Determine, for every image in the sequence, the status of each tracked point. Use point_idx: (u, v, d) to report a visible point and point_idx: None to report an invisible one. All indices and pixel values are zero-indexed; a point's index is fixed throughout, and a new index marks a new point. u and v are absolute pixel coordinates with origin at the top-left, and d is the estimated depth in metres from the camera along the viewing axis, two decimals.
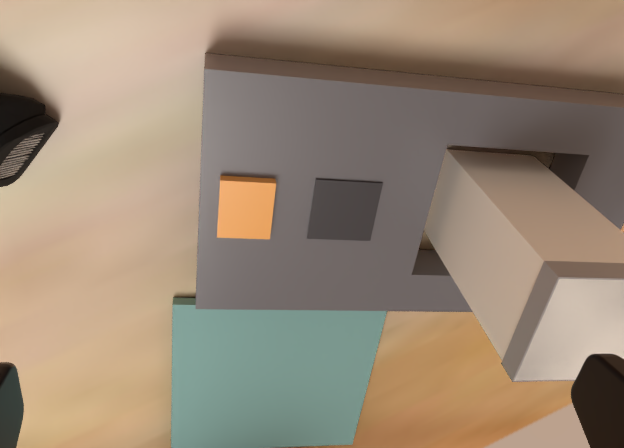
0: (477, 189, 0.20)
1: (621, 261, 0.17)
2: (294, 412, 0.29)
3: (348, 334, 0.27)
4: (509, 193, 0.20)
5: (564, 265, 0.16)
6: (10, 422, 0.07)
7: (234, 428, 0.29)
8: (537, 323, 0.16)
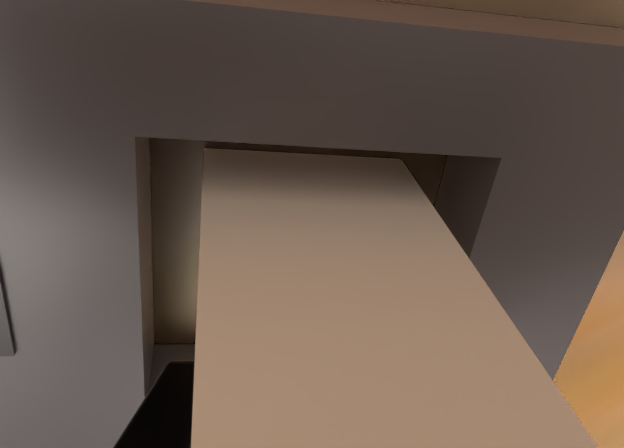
0: (199, 249, 0.08)
1: None
2: None
3: None
4: (274, 263, 0.08)
5: None
6: None
7: None
8: None
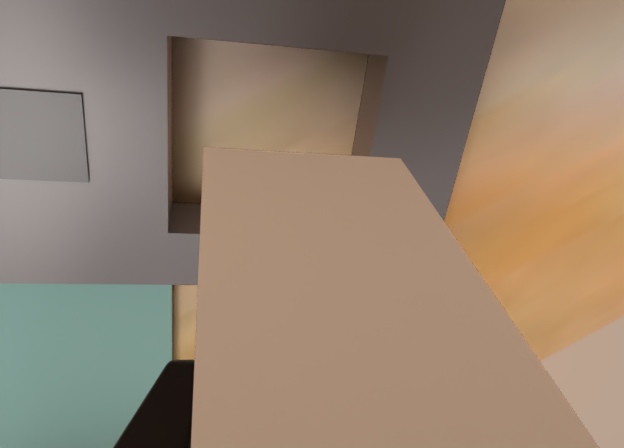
0: (199, 248, 0.08)
1: None
2: (80, 421, 0.23)
3: (125, 319, 0.21)
4: (274, 261, 0.08)
5: None
6: None
7: (3, 442, 0.23)
8: None
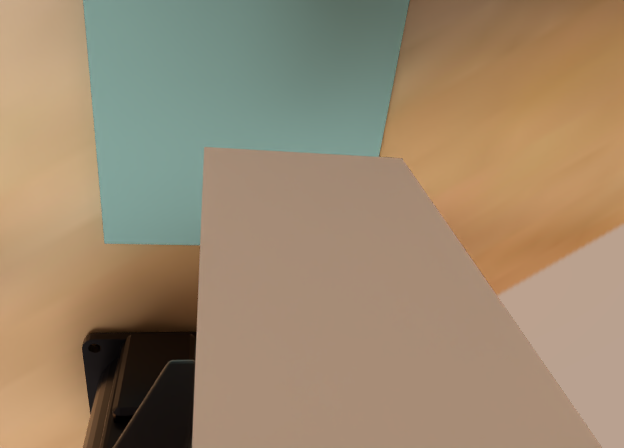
0: None
1: None
2: None
3: (352, 39, 0.18)
4: (275, 262, 0.08)
5: None
6: None
7: (192, 207, 0.21)
8: None
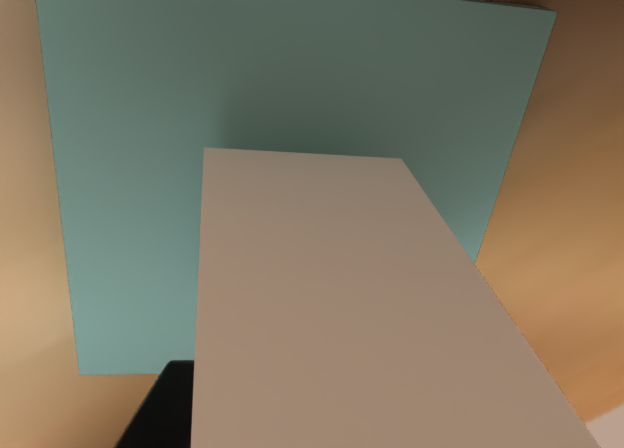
0: (199, 249, 0.08)
1: None
2: None
3: (459, 90, 0.12)
4: (274, 263, 0.08)
5: None
6: None
7: None
8: None
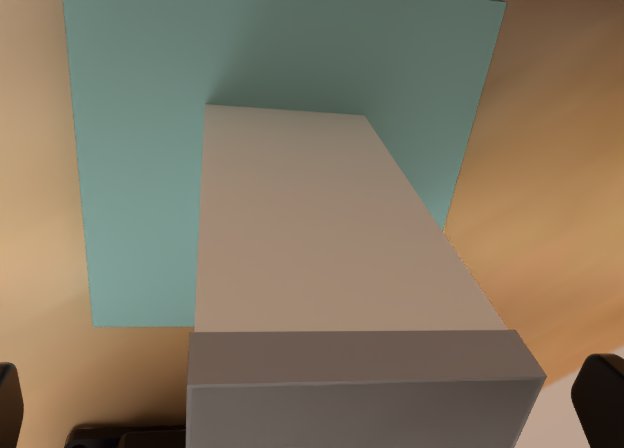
0: None
1: (409, 325, 0.07)
2: None
3: (424, 70, 0.14)
4: (257, 175, 0.10)
5: (234, 345, 0.06)
6: (10, 422, 0.07)
7: None
8: None
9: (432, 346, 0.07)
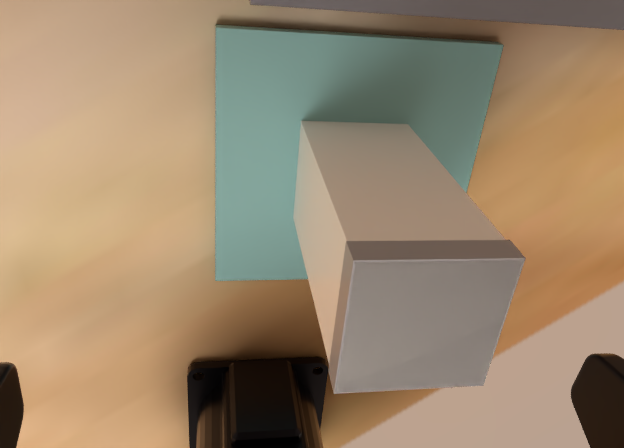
0: (315, 162, 0.17)
1: (453, 238, 0.13)
2: None
3: (448, 92, 0.20)
4: (351, 165, 0.17)
5: (369, 246, 0.13)
6: (10, 422, 0.07)
7: (296, 245, 0.22)
8: (345, 321, 0.13)
9: (466, 247, 0.13)
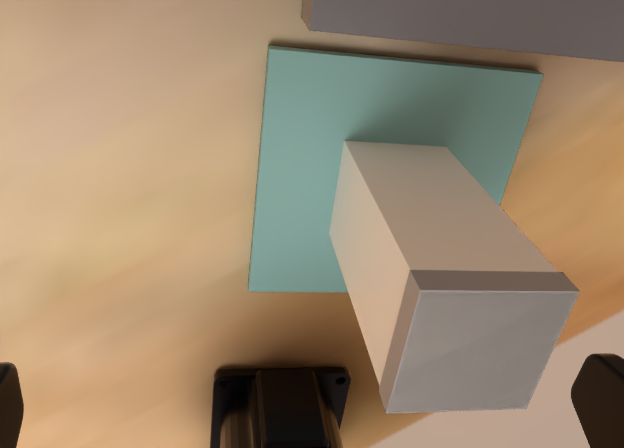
0: (364, 185, 0.17)
1: (509, 269, 0.14)
2: None
3: (487, 117, 0.21)
4: (400, 189, 0.17)
5: (432, 275, 0.13)
6: (10, 422, 0.07)
7: (329, 259, 0.23)
8: (405, 346, 0.14)
9: (522, 278, 0.14)
